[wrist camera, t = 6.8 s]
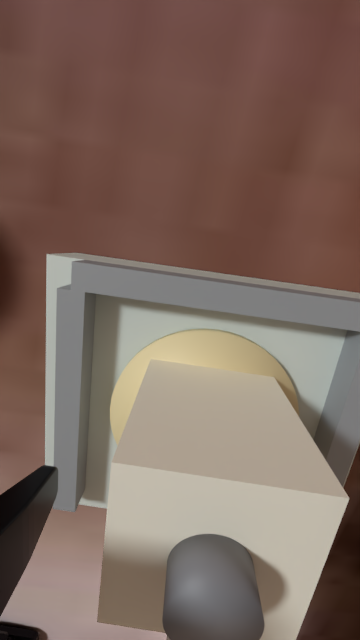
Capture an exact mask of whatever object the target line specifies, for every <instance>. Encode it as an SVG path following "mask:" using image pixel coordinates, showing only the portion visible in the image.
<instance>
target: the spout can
mask: <svg viewBox="0 0 360 640" xmlns="http://www.w3.org/2000/svg"><path fill="white" fill-rule="evenodd" d="M349 499H350V498H349V497H348V495H347V494H346V492H345V490H344V489H343V487H342V486H341V484H340V482H339V481H338V479H337V478H336V476H335V474H334V473H333V471H332V469H331V468H330V466H329V465H328V463H327V461H326V460H325V458H324V457H323V455H322V453H321V452H320V450H319V449H318V447H317V445H316V444H315V442H314V440H313V439H312V437H311V436H310V434H309V432H308V431H307V429H306V428H305V426H304V424H303V423H302V421H301V420H300V418H299V416H298V415H297V413H296V412H295V410H294V408H293V407H292V405H291V403H290V402H289V400H288V399H287V397H286V395H285V394H284V392H283V391H282V389H281V387H280V386H279V384H278V383H277V381H276V379H275V378H274V377H270V376H263V375H257V374H250V373H243V372H236V371H230V370H223V369H216V368H209V367H203V366H196V365H189V364H183V363H176V362H169V361H162V360H156V359H151V360H150V362H149V365H148V367H147V370H146V373H145V375H144V378H143V381H142V383H141V386H140V388H139V391H138V394H137V396H136V399H135V401H134V404H133V407H132V409H131V412H130V415H129V417H128V420H127V422H126V425H125V428H124V430H123V433H122V436H121V438H120V441H119V443H118V446H117V449H116V451H115V454H114V456H113V459H112V462H111V472H110V483H109V494H108V506H107V517H106V528H105V539H104V551H103V562H102V573H101V585H100V596H99V607H98V619H97V622H100V623H106V624H113V625H119V626H125V627H132V628H138V629H144V630H151V631H157V632H163V633H166V634H167V639H166V640H296V638H297V635H298V632H299V630H300V627H301V625H302V622H303V619H304V617H305V614H306V611H307V609H308V606H309V604H310V601H311V598H312V596H313V593H314V590H315V588H316V585H317V583H318V580H319V577H320V575H321V572H322V569H323V567H324V564H325V562H326V559H327V556H328V554H329V551H330V548H331V546H332V543H333V541H334V538H335V535H336V533H337V530H338V527H339V525H340V522H341V520H342V517H343V514H344V512H345V509H346V506H347V504H348V501H349Z"/></svg>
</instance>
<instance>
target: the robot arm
mask: <svg viewBox="0 0 360 640" xmlns="http://www.w3.org/2000/svg"><path fill="white" fill-rule="evenodd" d="M57 492H58V468H57V467H55V466H48V465H43V466H41V467H40V468H38V469H37V470H35V471H34V472H33V473H31V474H30V475H28V476H27V477H25V478H24V479H23V480H21V481H20V482H18V483H17V484H15V485H14V486H13V487H11V488H10V489H8V490H7V491H5V492H4V493H3V494H1V495H0V616H1V614H2V612H3V610H4V608H5V607H6V605H7V603H8V601H9V599H10V597H11V595H12V593H13V591H14V589H15V588H16V586H17V584H18V582H19V580H20V578H21V576H22V574H23V572H24V570H25V568H26V566H27V564H28V562H29V560H30V558H31V556H32V553H33V551H34V549H35V546H36V544H37V542H38V539H39V537H40V535H41V532H42V530H43V527H44V525H45V523H46V520H47V518H48V516H49V513H50V511H51V508H52V506H53V504H54V501H55V499H56V496H57ZM0 640H39V636H38V633H37V632H35V631H33V630H27V629H21V628H15V627H8V626H2V625H0Z"/></svg>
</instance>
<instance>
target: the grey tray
mask: <svg viewBox="0 0 360 640" xmlns="http://www.w3.org/2000/svg"><path fill="white" fill-rule="evenodd" d="M151 359H156V360H162V361H169V362H176V363H183V364H189V365H196V366H203V367H209V368H216V369H223V370H230V371H236V372H243V373H250V374H257V375H263V376H270V377H274V378H275V379H276V381H277V383H278V384H279V386H280V387H281V389H282V391H283V392H284V394H285V395H286V397H287V399H288V400H289V402H290V403H291V405H292V407H293V408H294V410H295V412H296V413H297V415H298V416H299V418H300V420H301V421H302V423H303V424H304V426H305V428H306V429H307V431H308V432H309V434H310V436H311V437H312V439H313V440H314V442H315V444H316V445H317V447H318V449H319V450H320V452H321V453H322V455H323V457H324V458H325V460H326V461H327V463H328V465H329V466H330V468H331V469H332V471H333V473H334V474H335V476H336V478H337V479H338V481H339V482H340V484H341V486H342V487H343V488H344V485H345V482H346V479H347V477H348V474H349V471H350V469H351V466H352V463H353V460H354V458H355V455H356V452H357V449H358V447H359V444H360V293H356V292H349V291H342V290H335V289H328V288H321V287H314V286H306V285H299V284H292V283H285V282H278V281H271V280H264V279H257V278H250V277H243V276H236V275H229V274H222V273H215V272H208V271H201V270H194V269H187V268H180V267H173V266H166V265H159V264H152V263H145V262H138V261H131V260H124V259H117V258H110V257H103V256H96V255H89V254H81V253H63V254H47V280H46V405H45V465H48V466H55V467H57V468H58V492H57V496H56V499H55V501H54V504H53V509H58V510H64V511H71V512H75V511H76V509H77V506H78V504H80V505H87V506H93V507H100V508H107V506H108V494H109V483H110V472H111V462H112V459H113V456H114V454H115V451H116V449H117V446H118V443H119V441H120V438H121V436H122V433H123V430H124V428H125V425H126V422H127V420H128V417H129V415H130V412H131V409H132V407H133V404H134V401H135V399H136V396H137V394H138V391H139V388H140V386H141V383H142V381H143V378H144V375H145V373H146V370H147V367H148V365H149V362H150V360H151Z"/></svg>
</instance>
